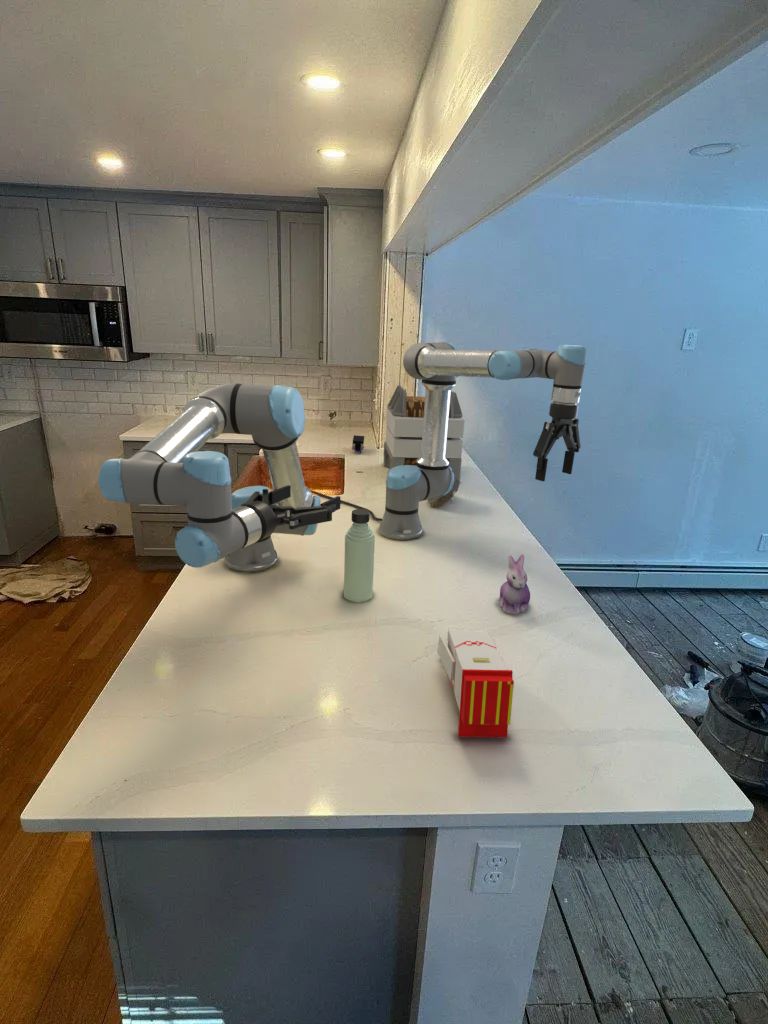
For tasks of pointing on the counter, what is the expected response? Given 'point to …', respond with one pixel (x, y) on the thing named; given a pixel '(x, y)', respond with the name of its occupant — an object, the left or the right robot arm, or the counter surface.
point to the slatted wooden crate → (418, 431)
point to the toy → (478, 682)
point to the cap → (360, 516)
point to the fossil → (445, 496)
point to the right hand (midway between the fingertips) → (553, 476)
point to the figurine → (515, 588)
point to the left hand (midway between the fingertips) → (313, 496)
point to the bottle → (359, 563)
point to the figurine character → (358, 443)
